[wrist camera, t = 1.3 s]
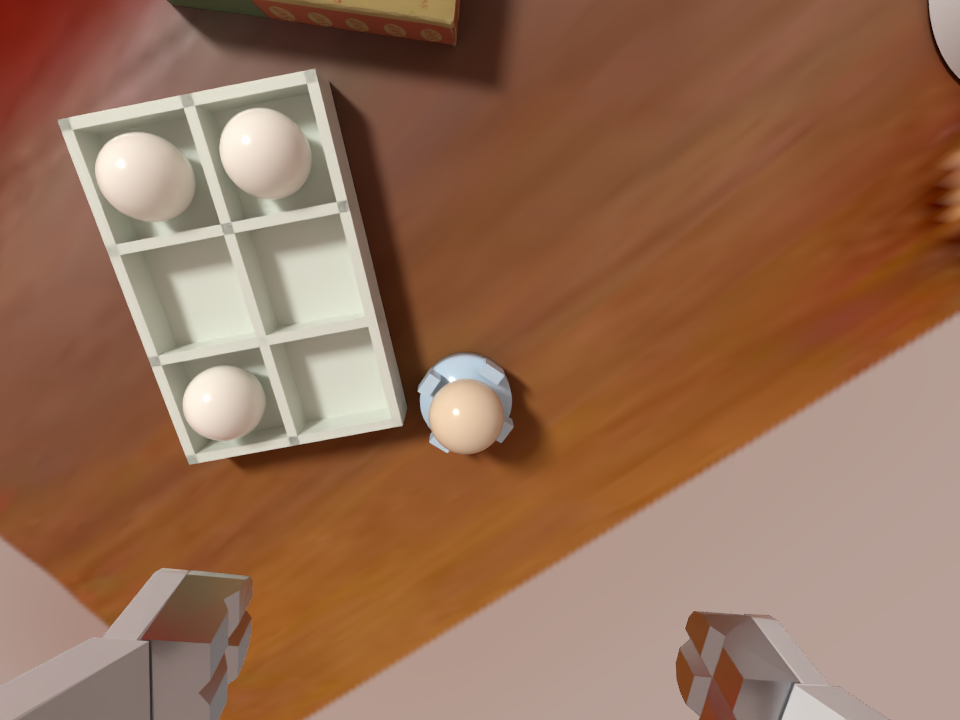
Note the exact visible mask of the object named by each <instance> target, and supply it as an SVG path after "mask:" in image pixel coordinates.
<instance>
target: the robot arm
mask: <svg viewBox="0 0 960 720" xmlns="http://www.w3.org/2000/svg"><path fill="white" fill-rule="evenodd" d="M929 11H930V19H931V24H932V29H933V33H934V36H935V39H936V42H937V45H938V47H939V49H940V52H941V54H942V56H943V57H944V59H945V61H946V63H947V64H948V66H949V67H950V68H951V70H952V71H953V72H954V73H955V75H956V76H957V77H958V78H959V79H960V0H929ZM251 598H252V579H251V578H250V576H242V575H232V574H222V573H212V572H202V571H189V570H178V569H167V568H162V569H160V570H158V571H156V572H155V573H154V574H153V575H152V576H151V578H150V579H149V580H148V581H147V582H146V584H145V585H144V586H143V587H142V589H141V590H140V591H139V592H138V594H137V595H136V596H135V597H134V599H133V600H132V601H131V602H130V603H129V605H128V606H127V607H126V608H125V610H124V611H123V612H122V613H121V615H120V616H119V617H118V618H117V619H116V621H115V622H114V623H113V624H112V626H111V627H110V628H109V629H108V631H107V632H106V633H105V634H104V636H103V637H102V638H90V639H88V640H86V641H84V642H83V643H80V644H78V645H77V646H75V647H73V648H71V649H69V650H67V651H65V652H63V653H61V654H59V655H57V656H56V657H54V658H52V659H50V660H48V661H46V662H44V663H42V664H40V665H38V666H37V667H34V668H33V669H31V670H29V671H27V672H25V673H23V674H21V675H19V676H18V677H15V678H13V679H11V680H10V681H8V682H6V683H4V684H2V685H0V720H218V719H219V717H220V715H221V712H222V710H223V708H224V706H225V704H226V701H227V685H228V684H229V683H230V682H232V681H233V680H235V679H236V678H237V677H238V674H239V672H240V670H241V667H242V665H243V663H244V659H245V656H246V652H247V649H248V645H249V640H250V633H251V621H252V618H251V616H250V615H249V614H248V612H247V611H246V608H247V606H248V604H249V602H250V600H251ZM685 629H686V631H687V633H688V635H689V637H690V639H689V640H688V641H687V642H686V643H685V644H684V645H683V646H681V647H680V649H679V653H678V657H677V661H676V675H677V682H678V686H679V689H680V692H681V695H682V697H683V699H684V701H685V703H686V705H687V706H688V707H689V708H691V709H692V710H693V711H694V712H695V713H696V714H697V715H699V716H700V718H699V720H890V719H888V718H886V717H885V716H883V715H882V714H880V713H879V712H877V711H876V710H874V709H873V708H871V707H870V706H868V705H867V704H865V703H863V702H862V701H860V700H859V699H857V698H856V697H854V696H853V695H851V694H850V693H848V692H847V691H845V690H844V689H842V688H840V687H839V686H831V685H830V684H829V683H828V682H827V681H826V679H825V678H824V677H823V676H822V674H821V673H820V672H819V671H818V670H817V668H816V667H815V666H814V665H813V663H812V662H811V661H810V660H809V659H808V657H807V656H806V655H805V654H804V652H803V651H802V650H801V649H800V647H799V646H798V645H797V644H796V643H795V641H794V640H793V639H792V638H791V636H790V635H789V634H788V633H787V631H786V630H785V629H784V628H783V626H782V625H781V624H780V623H779V622H778V620H776V619H775V618H773V617H771V616H769V615H751V614H744V615H739V614H724V613H710V612H697V611H694V612H693V613H692V614H691V615H690V617H689V618H688V622H687V625H686V628H685Z"/></svg>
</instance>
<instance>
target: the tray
mask: <svg viewBox="0 0 960 720" xmlns="http://www.w3.org/2000/svg"><path fill="white" fill-rule="evenodd" d="M251 108H268V109H272V110H276V111H278V112H281V113H283V114H284V115H286V116H288V117H289V118H290V119H292V120H293V121H294V122H295V123H296V124H297V125H298V126H299V127H300V128H301V130H302V131H303V133H304V134H305V136H306V138H307V140H308V142H309V145H310V148H311V153H312V166H311V171H310V174H309V177H308V179H307V181H306V182H305V184H304V185H303V186H302V187H301V188H300V189H299V190H298V191H297V192H296V193H294V194H292V195H291V196H288V197H286V198H282V199H277V200H267V199H261V198H257V197H254V196H252V195H250V194H248V193H246V192H244V191H243V190H242V189H240V188H239V187H238V186H237V185H236V184H235V183H234V182H233V181H232V180H231V179H230V177H229V176H228V174H227V173H226V171H225V169H224V167H223V164H222V162H221V158H220V151H219V144H220V138H221V134H222V132H223V129H224V127H225V126H226V124H227V123H228V122H229V121H230V119H232V118H233V117H234V116H235V115H236V114H238V113H240V112H242V111H244V110H247V109H251ZM57 121H58V124H59V126H60V129H61V131H62V134H63V137H64V139H65V142H66V144H67V147H68V150H69V152H70V155H71V158H72V160H73V163H74V165H75V168H76V171H77V173H78V176H79V178H80V181H81V184H82V186H83V189H84V191H85V194H86V197H87V199H88V202H89V205H90V207H91V210H92V212H93V215H94V218H95V220H96V223H97V225H98V228H99V231H100V233H101V236H102V238H103V241H104V244H105V246H106V249H107V252H108V254H109V257H110V259H111V262H112V265H113V267H114V270H115V272H116V275H117V278H118V280H119V283H120V286H121V288H122V291H123V293H124V296H125V299H126V301H127V304H128V306H129V309H130V312H131V314H132V317H133V319H134V322H135V325H136V327H137V330H138V333H139V335H140V338H141V340H142V343H143V346H144V348H145V351H146V353H147V356H148V359H149V361H150V364H151V366H152V369H153V372H154V374H155V377H156V380H157V382H158V385H159V387H160V390H161V393H162V395H163V398H164V400H165V403H166V406H167V408H168V411H169V414H170V416H171V419H172V421H173V424H174V427H175V429H176V432H177V434H178V437H179V440H180V442H181V445H182V447H183V450H184V453H185V455H186V458H187V461H188V463H189V465H190V464H196V463H201V462H207V461H212V460H218V459H223V458H229V457H234V456H240V455H245V454H251V453H256V452H262V451H267V450H273V449H278V448H284V447H289V446H294V445H300V444H305V443H311V442H316V441H322V440H327V439H333V438H338V437H344V436H349V435H355V434H360V433H366V432H371V431H377V430H382V429H388V428H393V427H399V426H403V423H404V419H405V415H406V411H407V404H406V400H405V396H404V392H403V388H402V383H401V379H400V375H399V371H398V367H397V363H396V358H395V354H394V350H393V346H392V342H391V338H390V333H389V329H388V325H387V321H386V317H385V313H384V308H383V304H382V300H381V296H380V292H379V288H378V283H377V279H376V275H375V271H374V267H373V263H372V258H371V254H370V250H369V246H368V242H367V238H366V233H365V229H364V225H363V221H362V217H361V213H360V208H359V204H358V200H357V196H356V192H355V188H354V183H353V179H352V175H351V171H350V167H349V163H348V158H347V154H346V150H345V146H344V142H343V138H342V133H341V129H340V125H339V121H338V117H337V113H336V108H335V104H334V100H333V96H332V92H331V88H330V83H329V81H328V80H327V79H326V78H325V77H324V76H323V75H322V74H320V73H319V72H318V71H317V70H316V69H311V70H306V71H301V72H296V73H291V74H286V75H281V76H276V77H271V78H266V79H261V80H256V81H251V82H246V83H241V84H235V85H230V86H225V87H220V88H215V89H210V90H205V91H200V92H195V93H190V94H185V95H180V96H175V97H170V98H165V99H160V100H155V101H150V102H145V103H140V104H135V105H130V106H125V107H119V108H114V109H109V110H104V111H99V112H94V113H89V114H84V115H79V116H74V117H69V118H64V119H59V120H57ZM130 132H144V133H150V134H153V135H157V136H159V137H162V138H164V139H166V140H167V141H169V142H171V143H172V144H174V145H175V146H176V147H177V148H178V149H179V150H181V152H182V153H183V154H184V155H185V156H186V158H187V159H188V160H189V162H190V164H191V166H192V168H193V171H194V174H195V179H196V191H195V195H194V198H193V201H192V202H191V204H190V206H189V207H188V208H187V209H186V210H185V211H184V212H183V213H182V214H181V215H179V216H177V217H176V218H173V219H171V220H168V221H164V222H144V221H140V220H136V219H133V218H131V217H128V216H127V215H125V214H123V213H121V212H120V211H118V210H117V209H116V208H115V207H113V206H112V205H111V204H110V203H109V202H108V201H107V199H106V198H105V197H104V195H103V194H102V192H101V190H100V188H99V186H98V183H97V180H96V175H95V164H96V159H97V156H98V154H99V152H100V150H101V149H102V148H103V146H104V145H105V144H106V143H107V142H108V141H110V140H111V139H113V138H114V137H116V136H119V135H121V134H125V133H130ZM222 365H230V366H236V367H240V368H242V369H245V370H247V371H248V372H250V373H251V374H253V375H254V376H255V377H256V378H257V379H258V380H259V382H260V383H261V385H262V387H263V389H264V391H265V395H266V408H265V412H264V415H263V417H262V419H261V421H260V422H259V424H258V425H257V426H256V427H255V428H254V429H253V430H252V431H251V432H250V433H248V434H247V435H245V436H243V437H241V438H238V439H234V440H230V441H216V440H211V439H208V438H206V437H203V436H201V435H200V434H198V433H197V432H196V431H194V430H193V429H192V428H191V426H190V425H189V424H188V422H187V420H186V418H185V416H184V413H183V397H184V393H185V390H186V388H187V387H188V385H189V384H190V382H191V381H192V380H193V379H194V378H195V377H196V376H197V375H198V374H200V373H201V372H203V371H205V370H207V369H209V368H212V367H216V366H222Z"/></svg>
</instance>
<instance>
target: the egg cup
mask: <svg viewBox="0 0 960 720" xmlns="http://www.w3.org/2000/svg"><path fill="white" fill-rule="evenodd" d="M458 379H475V380H479V381H481V382H483V383H485V384H487V385H488V386H490V387H491V388H492V389H493V390H494V391H495V392H496V394H497V395H498V397H499V398H500V400H501V403H502V406H503V410H504V423H503V427H502V430H501V432H500V434H499V436H498V438H497V439H496V441H498V442H500V443H502V442H503V441H504V439H505V438H506V437H507V435H508V434H509V433H510V431H511V430H512V429H513V427H514V425H513V421H512V419H511V418H509V415H510V412H511V407H512V394H511V390H510V386H509V382H508V379H507V377H506V375H505V373H504V370H503V369H502V368H501V367H500V366H499V365H498V364H497V363H496V362H494V361H493V360H492V359H490V358H488V357H486V356H484V355H482V354H478V353H474V352H458V353H454V354H450V355H448V356H446V357H444V358H442V359H440V360H439V361H438V362H436V363H435V364H434V365H433V366H432V367H431V368H430V370H429V371H428V372H427V374H426V375H425V377H424V378H423V380H422V381H421V382H420V384H419V386H418V392H419V393H421V395H420V408H421V412H422V416H423V418H424V420H425V422H426V423H427V425H428V426H429V428H430V425H429V408H430V405H431V402H432V400H433V398H434V396H435V395H436V393H437V392H438V391H439V390H440V389H441V388H442V387H443V386H445V385H446V384H448V383H450V382H452V381H454V380H458ZM430 429H431V428H430ZM429 442H430V443H431V444H433V445H434V446H436V447H438V448H439V449H441V450H443V451H444V452H446V453H448V452H449V450H448V449H446V448H445V447H443V446H442V445H441V444H440V443H439V442H438V441H437V440H436V438H435V437H434V435H433V433H431V434H430V440H429Z"/></svg>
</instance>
